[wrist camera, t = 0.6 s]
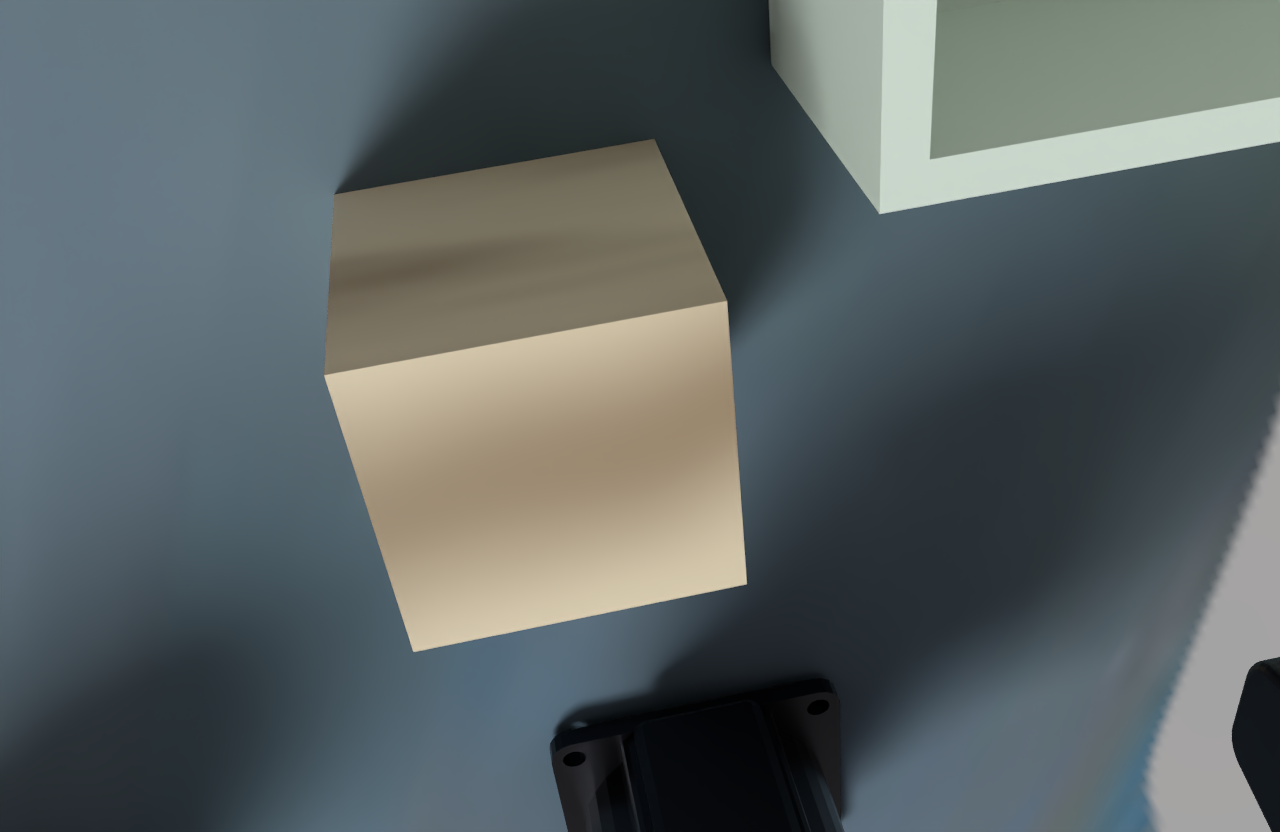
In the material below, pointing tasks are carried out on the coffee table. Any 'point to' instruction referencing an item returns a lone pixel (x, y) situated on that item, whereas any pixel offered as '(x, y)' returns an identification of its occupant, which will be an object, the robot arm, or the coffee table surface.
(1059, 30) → the box
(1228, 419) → the coffee table surface
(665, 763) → the robot arm
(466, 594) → the cube
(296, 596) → the coffee table surface
